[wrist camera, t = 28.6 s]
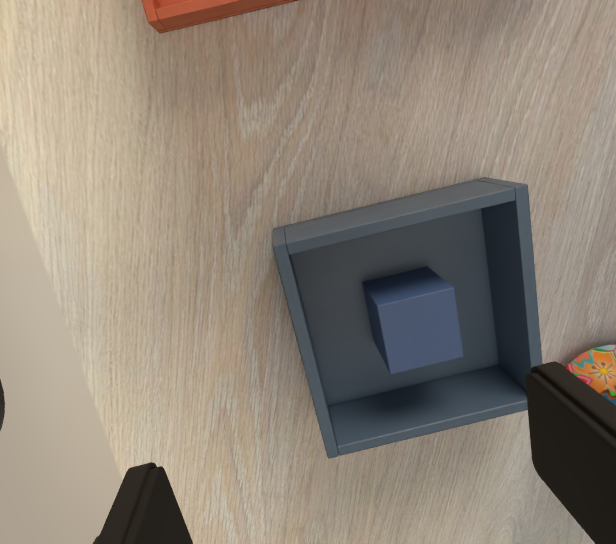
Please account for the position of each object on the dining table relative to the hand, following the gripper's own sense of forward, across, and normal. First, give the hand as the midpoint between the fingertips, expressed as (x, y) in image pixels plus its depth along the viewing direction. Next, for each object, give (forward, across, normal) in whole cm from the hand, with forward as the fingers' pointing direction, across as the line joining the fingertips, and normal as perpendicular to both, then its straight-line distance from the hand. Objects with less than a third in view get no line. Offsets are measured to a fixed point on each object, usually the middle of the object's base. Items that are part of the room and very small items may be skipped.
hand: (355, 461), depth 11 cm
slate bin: (+22, -7, +6) cm, 24 cm away
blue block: (+21, -7, +6) cm, 23 cm away
